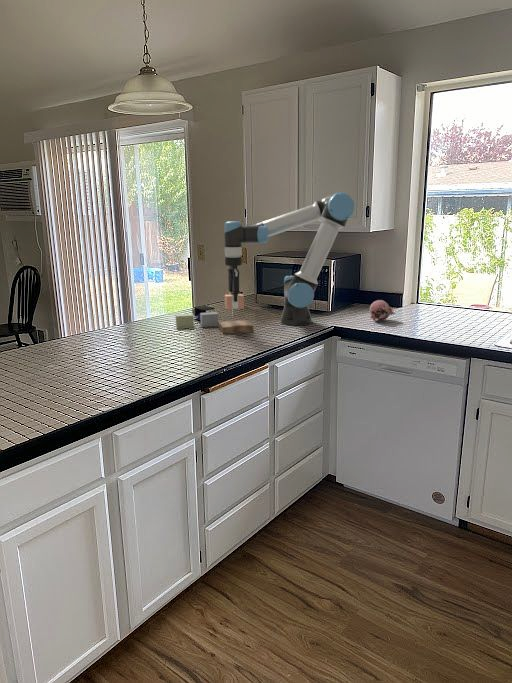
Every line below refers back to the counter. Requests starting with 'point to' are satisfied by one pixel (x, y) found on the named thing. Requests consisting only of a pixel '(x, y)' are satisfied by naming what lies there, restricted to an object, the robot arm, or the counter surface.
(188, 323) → the olive brick
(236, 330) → the walnut board
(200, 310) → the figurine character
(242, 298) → the terracotta brick
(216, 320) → the grey brick
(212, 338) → the counter surface
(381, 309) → the toy
